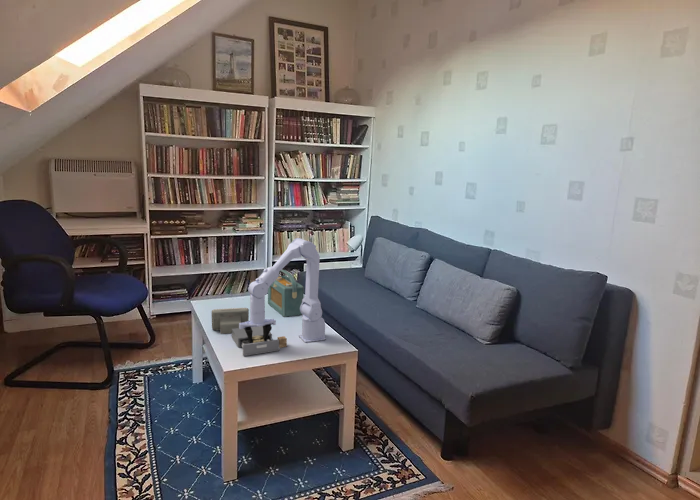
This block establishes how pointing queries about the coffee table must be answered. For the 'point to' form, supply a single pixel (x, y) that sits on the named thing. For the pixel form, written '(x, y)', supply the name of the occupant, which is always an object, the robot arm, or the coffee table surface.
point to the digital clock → (228, 319)
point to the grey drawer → (259, 347)
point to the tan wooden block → (282, 341)
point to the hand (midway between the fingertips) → (257, 343)
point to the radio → (286, 295)
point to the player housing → (241, 334)
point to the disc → (257, 339)
